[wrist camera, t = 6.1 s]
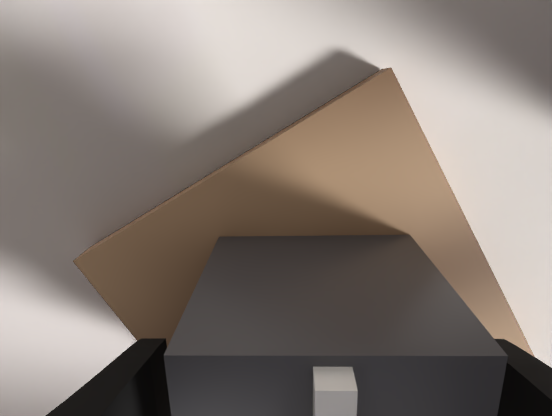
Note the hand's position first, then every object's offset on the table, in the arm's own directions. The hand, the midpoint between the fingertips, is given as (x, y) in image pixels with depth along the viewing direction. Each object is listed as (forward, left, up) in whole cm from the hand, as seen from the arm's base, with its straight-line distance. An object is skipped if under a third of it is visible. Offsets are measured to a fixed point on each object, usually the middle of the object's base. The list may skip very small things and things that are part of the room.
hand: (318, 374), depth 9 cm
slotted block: (0, 0, -2) cm, 2 cm away
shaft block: (0, 0, -3) cm, 3 cm away
